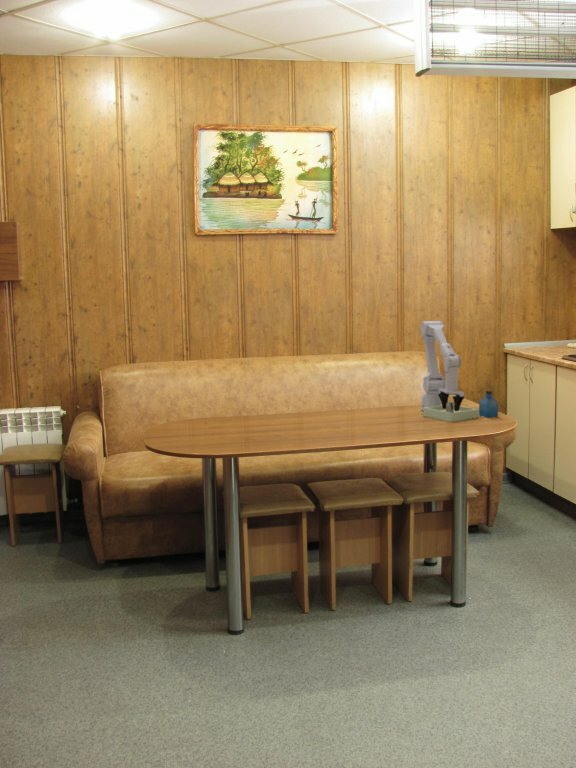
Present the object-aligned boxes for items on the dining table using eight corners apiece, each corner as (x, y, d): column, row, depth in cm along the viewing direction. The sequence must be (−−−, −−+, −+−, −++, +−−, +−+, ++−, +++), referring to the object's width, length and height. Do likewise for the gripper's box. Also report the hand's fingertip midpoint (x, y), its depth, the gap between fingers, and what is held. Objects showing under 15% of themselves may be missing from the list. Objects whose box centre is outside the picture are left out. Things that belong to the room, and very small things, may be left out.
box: (423, 416, 381) (423, 407, 381) (449, 412, 392) (450, 403, 391) (451, 422, 367) (451, 413, 366) (478, 417, 377) (478, 409, 376)
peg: (444, 416, 380) (444, 402, 379) (450, 416, 381) (451, 401, 380) (448, 417, 377) (449, 403, 376) (455, 417, 378) (455, 402, 377)
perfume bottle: (478, 415, 382) (479, 390, 381) (489, 414, 385) (490, 389, 383) (487, 417, 377) (488, 392, 375) (497, 416, 379) (498, 391, 378)
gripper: (434, 380, 380) (433, 408, 382) (456, 383, 369) (456, 412, 371) (444, 378, 384) (444, 406, 386) (467, 382, 373) (466, 411, 375)
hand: (450, 409), depth 379 cm, fingers open, 7 cm apart
